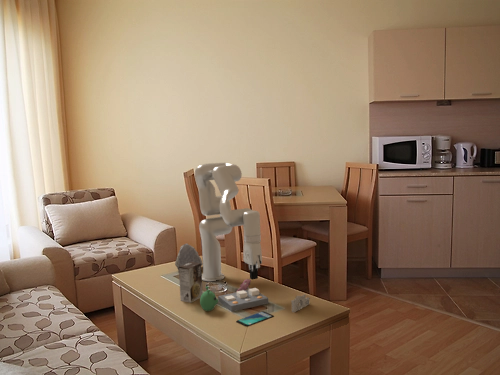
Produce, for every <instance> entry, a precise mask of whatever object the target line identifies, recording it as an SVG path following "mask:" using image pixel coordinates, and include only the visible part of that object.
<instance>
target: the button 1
mask: <svg viewBox="0 0 500 375" xmlns="http://www.w3.org/2000/svg"><path fill="white" fill-rule="evenodd" d="M224 299H225V300H226V301H231V300H235V297H234V296H232V295H230V296H225V297H224Z"/></svg>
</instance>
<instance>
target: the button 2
mask: <svg viewBox="0 0 500 375" xmlns="http://www.w3.org/2000/svg"><path fill="white" fill-rule="evenodd" d="M248 293H249V295H251V296H255V295H259V293H260V290H259V289H258V288H256V287H253V288H249V289H248Z"/></svg>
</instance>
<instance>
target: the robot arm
mask: <svg viewBox="0 0 500 375" xmlns="http://www.w3.org/2000/svg"><path fill="white" fill-rule="evenodd" d="M242 175H243V174H242V171H241V168H240V167H239V166H238V165H237V164H235V163H229V162H215V163H213V162H212V163H204V164H200V165H198V166H197V167H196V168H195V169H194V179H195V183H196V187H197V188H198V198H199V209H200V212H201V214H202V216H206V217H207V216H216V215H219V216H217V217H209V218H205V219H202V220H200V222H199V226H198V229H199V233H200V239H201V250H202V251H201V253H202V254H201V256H202V258H201V259H202V263H203V264H202V282H217V281H216V280H219V281H221V280H223V279H225V274H224V273H222V258H221V257H222V255H221V254H222V252H221V244H220V241H219V240H218V239H217V237H219V236H223V235H228V234H230V233H231V232H232V230H233V228H234V227H239V226H240V227H241V226H243V227H242V229H243V248H242V249H243V253H242V256H243V260H242V261H243V262H244V263H245V264H247V265H248V270H249V279H250V280H251V281H252V280H257V279H258V278H259V273H258V271H259V269H260V268H261V265H262V263H263V254H262V252H263V251H262V245H261V242H262V241H261V240H262V236H261V234H262V233H261V214H260V211H258V210H252V208H249V207H248V208H239V209H232V207H231V201H230V200H232V199H234V198H235V197H236V196H238V194H239V187H238V184H237V183H236V182H239V181H241V179H242ZM211 181H214V182H215V185H216V187H217V189H218V190H219V193H220V195H216V187H215V186H214V184H213V182H211Z"/></svg>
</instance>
